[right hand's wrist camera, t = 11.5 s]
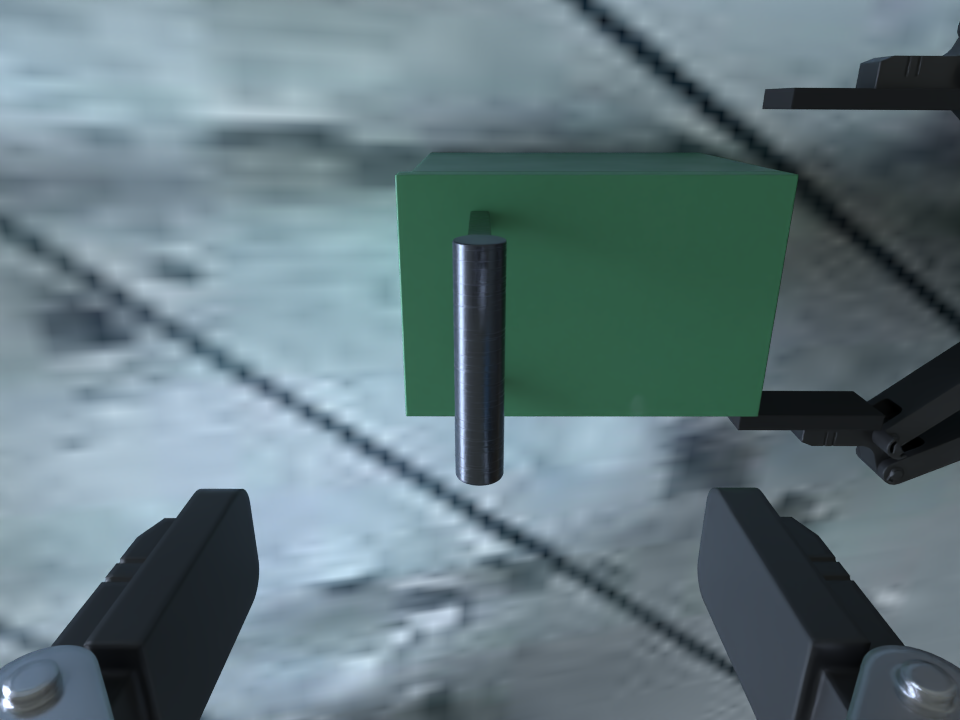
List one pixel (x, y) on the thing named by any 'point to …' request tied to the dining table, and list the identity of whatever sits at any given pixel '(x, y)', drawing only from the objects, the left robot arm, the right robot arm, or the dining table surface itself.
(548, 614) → the dining table surface
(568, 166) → the chest
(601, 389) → the lid
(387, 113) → the dining table surface
